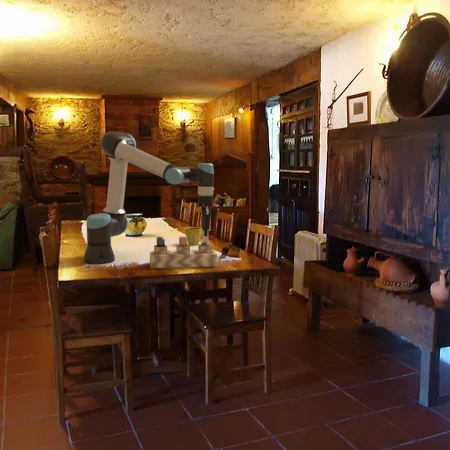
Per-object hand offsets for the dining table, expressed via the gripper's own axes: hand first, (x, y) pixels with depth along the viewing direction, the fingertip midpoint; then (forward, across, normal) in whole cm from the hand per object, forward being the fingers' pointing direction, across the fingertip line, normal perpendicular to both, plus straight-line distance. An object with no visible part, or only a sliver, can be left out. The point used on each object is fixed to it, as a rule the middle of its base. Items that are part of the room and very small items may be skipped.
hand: (205, 242), depth 247 cm
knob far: (+5, 0, 0) cm, 5 cm away
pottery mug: (+11, +17, -16) cm, 25 cm away
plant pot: (+11, +53, -1) cm, 54 cm away
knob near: (+2, 0, +22) cm, 22 cm away
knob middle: (+2, 0, +11) cm, 11 cm away
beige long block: (+11, 0, +11) cm, 15 cm away
